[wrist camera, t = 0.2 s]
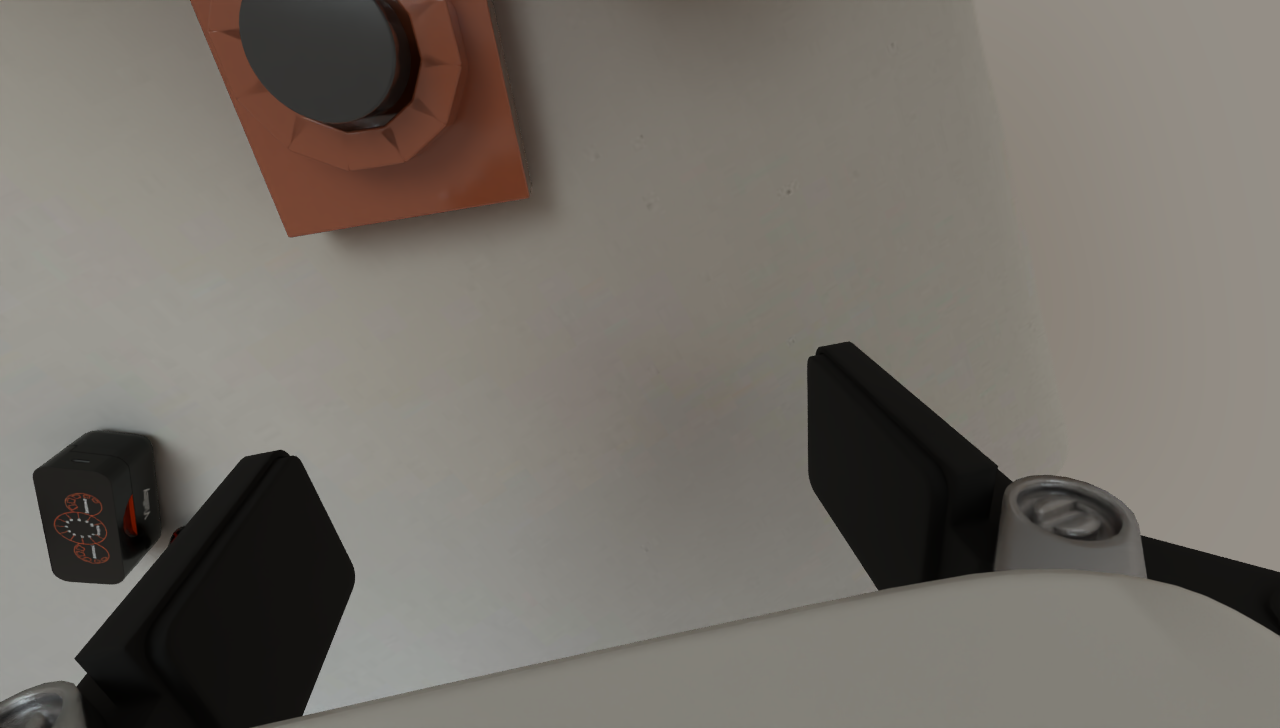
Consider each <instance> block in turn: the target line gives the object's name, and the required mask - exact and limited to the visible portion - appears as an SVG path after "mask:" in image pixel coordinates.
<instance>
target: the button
mask: <svg viewBox="0 0 1280 728" xmlns="http://www.w3.org/2000/svg"><path fill="white" fill-rule="evenodd" d="M239 31H240V37H241V42H242V46H243V49H244V52H245V55H246V57H247V60H248V62H249V64H250V66H251V68H252V70H253V71H254V73H255V75H256V76H257V78H258V79H259V80H260V82H261V83H262V84H263V86H264V87H265V88H266V89H267V90H268V91H269V92H270V93H271V94H272V95H273V96H274V97H275V98H276V99H277V100H278V101H279V102H281V103H282V104H283V105H285V106H286V107H287V108H289V109H291V110H292V111H294V112H296V113H298V114H300V115H302V116H304V117H307V118H309V119H312V120H316V121H320V122H325V123H347V122H353V121H359V120H365V119H370V118H374V117H376V116H379V115H381V114H383V113H385V112H386V111H388V110H389V109H390V108H391V107H393V106H394V105H395V104H396V103H397V101H398V100H399V99H400V98H401V96H402V94H403V93H404V91H405V89H406V86H407V84H408V80H409V77H410V70H411V53H410V46H409V42H408V38H407V35H406V32H405V29H404V27H403V25H402V23H401V21H400V19H399V17H398V16H397V14H396V12H395V11H394V10H393V8H392V7H391V6H390V4H389V3H388V2H387V1H386V0H242V1H241V6H240V11H239Z"/></svg>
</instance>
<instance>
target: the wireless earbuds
mask: <svg viewBox="0 0 1280 728" xmlns="http://www.w3.org/2000/svg"><path fill="white" fill-rule="evenodd" d="M33 481H34V486H35V490H36V495H37V500H38V505H39V510H40V515H41V519H42V524H43V529H44V534H45V539H46V543H47V548H48V553H49V558H50V563H51V567H52V571H53V573H54V574H55V576H56V577H58V578H60V579H62V580H64V581H69V582H81V583H97V584H117V583H120V582H122V581H123V580H124V579H125V577H126V576H127V575H128V574H129V573H130V572H131V571H132V569H133V568H134V567H135V566H136V565H137V564H138V563H139V561H140V560H141V559H142V558H143V557H144V556H145V555H146V553H147V552H148V551H149V550H150V549H151V548H152V547H153V545H154V544H155V543H156V542H157V541H158V539H159V538H160V536H161V522H160V513H159V503H158V494H157V484H156V475H155V465H154V456H153V446H152V443H151V441H150V440H149V439H148V438H146V437H144V436H141V435H134V434H126V433H117V432H109V431H90V432H88V433H85V434H84V435H82V436H81V437H80V438H78V439H77V440H75V441H74V442H73V443H71V444H70V445H69V446H67V447H66V448H65V449H63V450H62V451H61V452H59V453H58V454H56V455H55V456H54V457H52V458H51V459H50V460H48V461H47V462H46V463H44V464H43V465H42V466H40V467H39V468H37V469H36V470H35V471H34V473H33ZM184 527H185V526H183V527H180V528H178V529H177V530H176V531H175V532H174V533H173V535H172V537H171V539H170V542H169V545H170V544H171V543H172V542H173V540H174V539H175V538H176V537H177V536H178V534H179V533H180V532H181V531H182V530H183V528H184ZM169 545H168V546H169ZM167 548H168V547H167Z"/></svg>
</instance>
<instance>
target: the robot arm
mask: <svg viewBox="0 0 1280 728" xmlns="http://www.w3.org/2000/svg"><path fill="white" fill-rule="evenodd" d="M807 384H808V473H809V479H810V483H811V486H812V488H813V490H814V492H815V494H816V495H817V497H818V498H819V500H820V501H821V503H822V504H823V506H824V508H825V509H826V511H827V512H828V514H829V515H830V517H831V518H832V520H833V521H834V523H835V524H836V526H837V527H838V529H839V531H840V532H841V534H842V535H843V537H844V538H845V540H846V541H847V543H848V544H849V546H850V547H851V549H852V550H853V552H854V554H855V555H856V557H857V558H858V560H859V561H860V563H861V564H862V566H863V567H864V569H865V570H866V572H867V573H868V575H869V577H870V578H871V580H872V581H873V583H874V584H875V586H876V587H877V589H878V590H879V591H875V592H870V593H865V594H861V595H856V596H851V597H846V598H841V599H836V600H831V601H826V602H821V603H816V604H812V605H807V606H802V607H798V608H793V609H788V610H783V611H779V612H774V613H769V614H765V615H760V616H755V617H751V618H746V619H741V620H737V621H732V622H727V623H723V624H718V625H713V626H709V627H704V628H699V629H695V630H690V631H685V632H680V633H676V634H671V635H666V636H662V637H657V638H652V639H648V640H643V641H639V642H634V643H629V644H625V645H620V646H616V647H611V648H606V649H602V650H597V651H593V652H588V653H584V654H579V655H574V656H570V657H565V658H561V659H556V660H552V661H547V662H542V663H538V664H533V665H529V666H524V667H520V668H515V669H511V670H506V671H502V672H497V673H493V674H488V675H484V676H479V677H474V678H470V679H465V680H461V681H456V682H452V683H447V684H443V685H438V686H434V687H429V688H425V689H420V690H416V691H411V692H407V693H403V694H398V695H394V696H389V697H385V698H380V699H376V700H372V701H367V702H363V703H358V704H354V705H349V706H345V707H341V708H336V709H332V710H327V711H323V712H318V713H314V714H310V715H305V716H302V715H303V713H304V710H305V708H306V705H307V703H308V700H309V698H310V695H311V693H312V690H313V688H314V685H315V683H316V680H317V678H318V675H319V673H320V670H321V668H322V665H323V663H324V660H325V658H326V655H327V653H328V650H329V648H330V645H331V643H332V640H333V637H334V635H335V632H336V630H337V627H338V625H339V622H340V620H341V617H342V615H343V612H344V610H345V607H346V605H347V602H348V600H349V597H350V595H351V592H352V590H353V587H354V583H355V571H354V567H353V564H352V562H351V560H350V558H349V556H348V554H347V552H346V550H345V548H344V546H343V544H342V542H341V540H340V538H339V536H338V534H337V532H336V530H335V528H334V526H333V524H332V522H331V520H330V518H329V516H328V514H327V512H326V510H325V508H324V506H323V504H322V502H321V500H320V498H319V496H318V494H317V492H316V490H315V488H314V486H313V484H312V482H311V480H310V478H309V476H308V474H307V472H306V470H305V468H304V466H303V464H302V462H301V460H300V459H299V458H298V457H297V456H290V455H289V454H288V453H287V452H285V451H283V450H277V451H272V452H266V453H261V454H256V455H251V456H246V457H244V458H243V459H242V460H240V462H239V463H238V464H237V465H236V466H235V468H234V469H233V470H232V471H231V472H230V474H229V475H228V476H227V477H226V478H225V480H224V481H223V482H222V483H221V484H220V485H219V487H218V488H217V489H216V490H215V491H214V493H213V494H212V495H211V496H210V497H209V499H208V500H207V501H206V502H205V503H204V505H203V506H202V507H201V508H200V509H199V511H198V512H197V513H196V514H195V515H194V516H193V518H192V519H191V520H190V521H189V522H188V524H187V525H186V526H185V527H184V528H183V530H182V531H181V532H180V533H179V534H178V536H177V537H176V538H175V539H174V540H173V542H172V543H171V544H170V545H169V546H168V548H167V549H166V550H165V551H164V552H163V553H162V555H161V556H160V557H159V558H158V559H157V561H156V562H155V563H154V564H153V565H152V567H151V568H150V569H149V570H148V571H147V573H146V574H145V575H144V576H143V577H142V579H141V580H140V581H139V582H138V583H137V584H136V586H135V587H134V588H133V589H132V590H131V592H130V593H129V594H128V595H127V596H126V598H125V599H124V600H123V601H122V602H121V604H120V605H119V606H118V607H117V608H116V610H115V611H114V612H113V613H112V614H111V616H110V617H109V618H108V619H107V620H106V621H105V623H104V624H103V625H102V626H101V627H100V629H99V630H98V631H97V632H96V633H95V635H94V636H93V637H92V638H91V639H90V641H89V642H88V643H87V644H86V645H85V647H84V648H83V649H82V650H81V651H80V652H79V654H78V655H77V656H76V657H75V658H74V659H75V660H76V661H77V662H78V663H79V664H80V665H81V667H82V668H83V669H84V670H85V671H86V672H87V674H86V675H85V677H84V678H83V679H82V680H81V682H80V683H79V684H78V686H77V687H76V686H75V685H74V683H69V682H65V681H56V682H49V683H43V684H41V685H38V686H35V687H32V688H29V689H27V690H24V691H22V692H20V693H18V694H16V695H14V696H12V697H10V698H8V699H6V700H4V701H2V702H0V728H1280V572H1277V571H1273V570H1269V569H1266V568H1261V567H1258V566H1254V565H1250V564H1247V563H1243V562H1239V561H1235V560H1231V559H1228V558H1224V557H1220V556H1217V555H1213V554H1209V553H1205V552H1202V551H1198V550H1194V549H1190V548H1186V547H1183V546H1179V545H1175V544H1171V543H1168V542H1164V541H1160V540H1156V539H1153V538H1148V537H1145V536H1141V535H1140V530H1139V524H1138V522H1137V520H1136V518H1135V515H1134V513H1133V512H1132V511H1131V510H1130V509H1129V508H1128V507H1127V506H1126V505H1125V504H1124V503H1123V502H1122V501H1121V500H1119V499H1118V498H1116V497H1115V496H1113V495H1112V494H1110V493H1109V492H1107V491H1105V490H1103V489H1101V488H1098V487H1096V486H1094V485H1091V484H1089V483H1086V482H1083V481H1079V480H1075V479H1071V478H1068V477H1061V476H1053V475H1036V476H1028V477H1024V478H1021V479H1017V480H1015V481H1014V482H1012V481H1011V480H1010V479H1009V478H1008V477H1006V476H1005V475H1004V474H1003V473H1002V472H1000V471H999V470H998V466H997V465H996V464H995V463H994V462H993V461H991V460H990V459H989V458H988V457H987V456H985V455H984V454H983V453H982V452H981V451H980V450H978V449H977V448H976V447H975V446H974V445H972V444H971V443H970V442H969V441H968V440H967V439H965V438H964V437H963V436H962V435H961V434H959V433H958V432H957V431H956V430H955V429H953V428H952V427H951V426H950V425H949V424H948V423H946V422H945V421H944V420H943V419H942V418H940V417H939V416H938V415H937V414H936V413H935V412H933V411H932V410H931V409H930V408H929V407H927V406H926V405H925V404H924V403H923V402H921V401H920V400H919V399H918V398H917V397H916V396H914V395H913V394H912V393H911V392H910V391H908V390H907V389H906V388H905V387H904V386H903V385H901V384H900V383H899V382H898V381H897V380H895V379H894V378H893V377H892V376H891V375H890V374H888V373H887V372H886V371H885V370H884V369H882V368H881V367H880V366H879V365H878V364H876V363H875V362H874V361H873V360H872V359H871V358H869V357H868V356H867V355H866V354H865V353H863V352H862V351H861V350H860V349H859V348H858V347H856V346H855V345H854V344H853V343H851V342H843V343H838V344H833V345H828V346H822V347H819V348H818V349H817V351H816V355H815V356H810V357H809V358H808V363H807Z"/></svg>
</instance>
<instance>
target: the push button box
mask: <svg viewBox="0 0 1280 728" xmlns="http://www.w3.org/2000/svg"><path fill="white" fill-rule="evenodd" d="M190 1H191V4H192V6H193V9H194V11H195V13H196V16H197V18H198V21H199V23H200V25H201V28H202V30H203V33H204V35H205V37H206V40H207V42H208V45H209V47H210V49H211V52H212V54H213V57H214V59H215V61H216V64H217V66H218V69H219V71H220V74H221V76H222V78H223V81H224V83H225V86H226V88H227V90H228V93H229V95H230V98H231V100H232V102H233V105H234V107H235V110H236V112H237V114H238V117H239V119H240V122H241V124H242V126H243V129H244V131H245V134H246V136H247V138H248V141H249V143H250V146H251V148H252V150H253V153H254V155H255V158H256V160H257V163H258V165H259V167H260V170H261V172H262V175H263V177H264V179H265V182H266V184H267V187H268V189H269V191H270V194H271V196H272V199H273V201H274V203H275V206H276V208H277V211H278V213H279V215H280V218H281V220H282V223H283V225H284V227H285V230H286V232H287V235H288V237H297V236H303V235H309V234H315V233H321V232H327V231H333V230H339V229H345V228H351V227H357V226H363V225H369V224H375V223H382V222H388V221H394V220H400V219H406V218H412V217H418V216H424V215H430V214H436V213H442V212H448V211H454V210H460V209H466V208H472V207H478V206H484V205H491V204H497V203H503V202H509V201H515V200H521V199H527V198H530V193H531V188H532V182H531V177H530V173H529V168H528V163H527V159H526V154H525V149H524V145H523V140H522V135H521V131H520V126H519V121H518V117H517V112H516V107H515V103H514V98H513V93H512V89H511V84H510V79H509V75H508V70H507V65H506V61H505V56H504V51H503V47H502V42H501V37H500V33H499V28H498V23H497V19H496V14H495V9H494V5H493V0H386V1H387V2H388V3H389V4H390V6H391V7H392V8H393V10H394V11H395V12H396V14H397V16H398V17H399V19H400V21H401V23H402V25H403V27H404V29H405V32H406V35H407V38H408V42H409V46H410V53H411V70H410V77H409V80H408V84H407V86H406V89H405V91H404V93H403V94H402V96H401V98H400V99H399V100H398V101H397V103H396V104H395V105H394V106H393V107H391V108H390V109H389V110H388V111H386V112H385V113H383V114H381V115H379V116H376V117H374V118H370V119H365V120H359V121H353V122H347V123H325V122H320V121H316V120H312V119H309V118H307V117H304V116H302V115H300V114H298V113H296V112H294V111H292V110H291V109H289V108H287V107H286V106H285V105H283V104H282V103H281V102H279V101H278V100H277V99H276V98H275V97H274V96H273V95H272V94H271V93H270V92H269V91H268V90H267V89H266V88H265V87H264V86H263V84H262V83H261V82H260V80H259V79H258V78H257V76H256V75H255V73H254V71H253V70H252V68H251V66H250V64H249V62H248V60H247V57H246V55H245V52H244V49H243V46H242V42H241V37H240V31H239V11H240V6H241V1H242V0H190Z"/></svg>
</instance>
